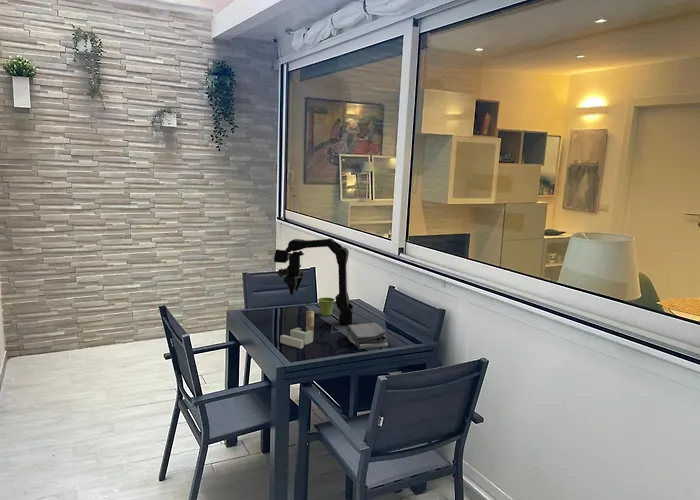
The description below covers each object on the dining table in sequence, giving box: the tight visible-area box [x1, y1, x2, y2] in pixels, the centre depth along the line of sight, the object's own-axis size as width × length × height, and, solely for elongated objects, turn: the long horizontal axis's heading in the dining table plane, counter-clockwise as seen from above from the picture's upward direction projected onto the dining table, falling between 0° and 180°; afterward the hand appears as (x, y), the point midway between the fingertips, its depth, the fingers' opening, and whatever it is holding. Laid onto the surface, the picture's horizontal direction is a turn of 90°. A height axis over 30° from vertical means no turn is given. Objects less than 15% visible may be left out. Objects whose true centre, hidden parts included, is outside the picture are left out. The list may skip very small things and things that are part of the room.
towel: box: [345, 322, 389, 350], centre depth 233 cm, size 15×18×8 cm
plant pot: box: [317, 296, 336, 317], centre depth 277 cm, size 9×9×9 cm
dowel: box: [305, 310, 315, 339], centre depth 236 cm, size 4×4×13 cm
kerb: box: [279, 334, 305, 350], centre depth 227 cm, size 2×12×4 cm, turn 55°
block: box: [289, 327, 314, 346], centre depth 232 cm, size 6×9×5 cm, turn 55°
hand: (294, 292), depth 264 cm, fingers open, 9 cm apart
